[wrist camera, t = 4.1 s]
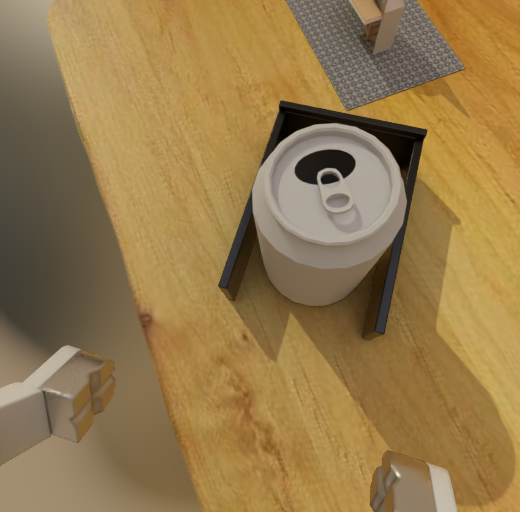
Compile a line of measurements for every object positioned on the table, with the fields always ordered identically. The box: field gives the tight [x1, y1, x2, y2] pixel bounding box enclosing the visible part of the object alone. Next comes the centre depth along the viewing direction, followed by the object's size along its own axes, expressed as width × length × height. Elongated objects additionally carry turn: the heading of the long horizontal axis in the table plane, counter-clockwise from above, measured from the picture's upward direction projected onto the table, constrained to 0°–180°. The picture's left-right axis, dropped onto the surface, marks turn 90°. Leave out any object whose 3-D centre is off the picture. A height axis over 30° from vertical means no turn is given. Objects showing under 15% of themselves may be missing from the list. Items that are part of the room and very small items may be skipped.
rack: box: [218, 101, 427, 340], centre depth 26 cm, size 15×11×4 cm
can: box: [252, 123, 407, 306], centre depth 22 cm, size 8×8×12 cm
